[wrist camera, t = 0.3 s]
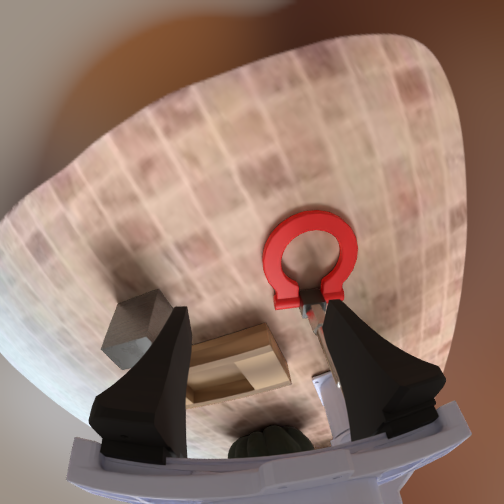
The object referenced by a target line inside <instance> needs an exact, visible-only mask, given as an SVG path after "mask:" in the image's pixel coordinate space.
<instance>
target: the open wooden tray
mask: <svg viewBox="0 0 504 504" xmlns="http://www.w3.org/2000/svg"><path fill="white" fill-rule="evenodd" d="M291 384H292V383H291V379H290V374H289V370H288V365H287V363H286V361H285V359H284V357H283V355H282V353H281V351H280V349H279V347H278V345H277V344H276V342H275V340H274V338H273V336H272V334H271V332H270V330H269V328H268V326H267V324H266V323H263V324H260V325H257V326H254V327H251V328H248V329H245V330H242V331H239V332H235V333H232V334H229V335H226V336H222V337H219V338H216V339H212V340H209V341H206V342H202V343H199V344H195V345H192V352H191V360H190V367H189V374H188V381H187V388H186V409H191V408H196V407H202V406H207V405H212V404H217V403H222V402H226V401H231V400H235V399H239V398H244V397H248V396H252V395H256V394H259V393H263V392H267V391H270V390H274V389H277V388H281V387H284V386H288V385H291Z"/></svg>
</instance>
